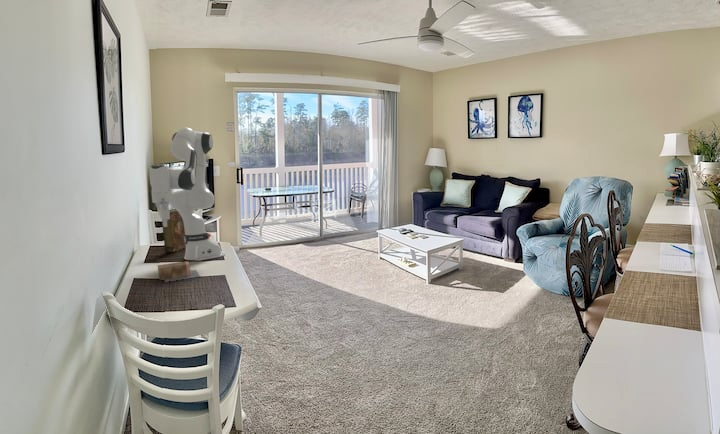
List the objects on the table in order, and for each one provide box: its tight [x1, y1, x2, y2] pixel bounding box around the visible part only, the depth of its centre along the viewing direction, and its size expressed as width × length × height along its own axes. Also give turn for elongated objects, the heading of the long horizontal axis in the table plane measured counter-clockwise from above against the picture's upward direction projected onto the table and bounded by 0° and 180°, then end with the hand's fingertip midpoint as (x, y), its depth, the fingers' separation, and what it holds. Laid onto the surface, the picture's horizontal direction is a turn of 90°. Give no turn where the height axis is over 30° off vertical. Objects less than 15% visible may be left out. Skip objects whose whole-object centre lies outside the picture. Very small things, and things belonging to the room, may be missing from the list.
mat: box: [164, 269, 201, 283], centre depth 231 cm, size 16×14×1 cm
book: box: [161, 208, 186, 253], centre depth 288 cm, size 16×6×25 cm, turn 168°
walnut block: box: [157, 260, 191, 281], centre depth 230 cm, size 6×6×14 cm
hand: (165, 226), depth 225 cm, fingers closed
